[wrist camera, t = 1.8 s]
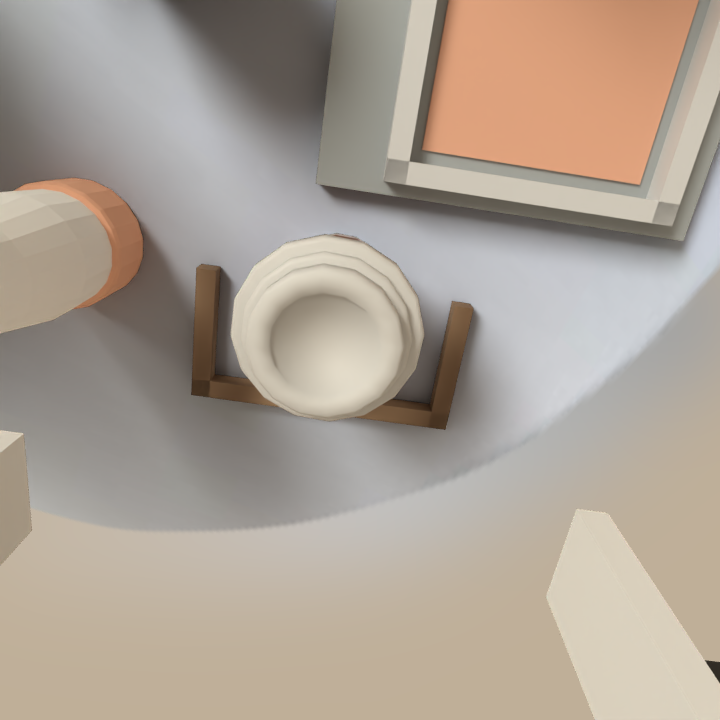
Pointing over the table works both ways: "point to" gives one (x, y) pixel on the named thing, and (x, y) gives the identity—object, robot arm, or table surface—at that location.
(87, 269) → the pepper shaker
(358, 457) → the table surface
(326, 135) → the pocket board
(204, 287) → the bracket
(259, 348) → the coffee cup
